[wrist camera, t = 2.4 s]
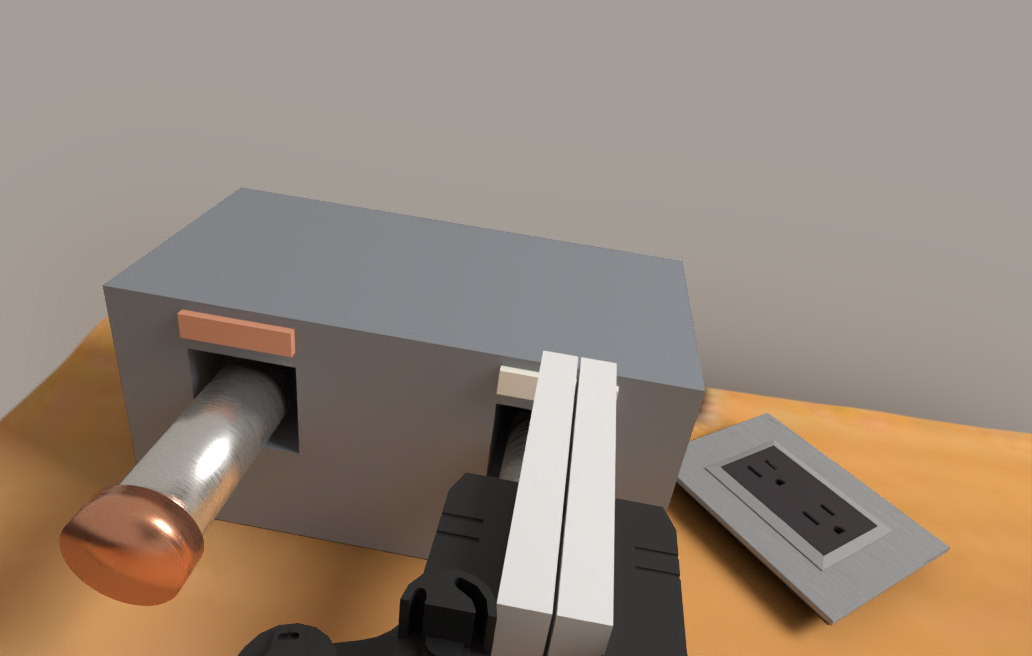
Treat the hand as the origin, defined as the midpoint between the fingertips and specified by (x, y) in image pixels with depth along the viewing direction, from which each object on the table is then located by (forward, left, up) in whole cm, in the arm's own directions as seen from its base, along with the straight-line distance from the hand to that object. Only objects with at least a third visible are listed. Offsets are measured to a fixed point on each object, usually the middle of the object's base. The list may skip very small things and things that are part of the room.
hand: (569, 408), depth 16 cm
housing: (+4, -20, -20) cm, 28 cm away
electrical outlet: (-18, -17, -21) cm, 33 cm away
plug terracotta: (+12, -11, -14) cm, 22 cm away
